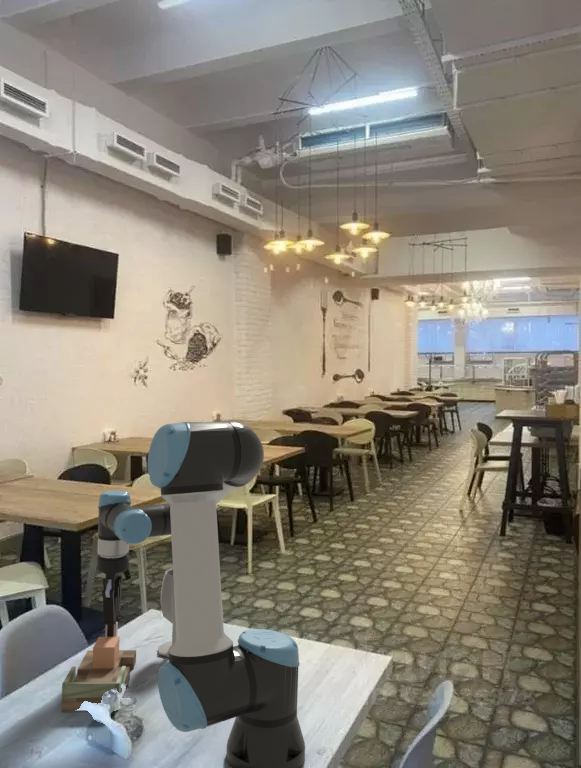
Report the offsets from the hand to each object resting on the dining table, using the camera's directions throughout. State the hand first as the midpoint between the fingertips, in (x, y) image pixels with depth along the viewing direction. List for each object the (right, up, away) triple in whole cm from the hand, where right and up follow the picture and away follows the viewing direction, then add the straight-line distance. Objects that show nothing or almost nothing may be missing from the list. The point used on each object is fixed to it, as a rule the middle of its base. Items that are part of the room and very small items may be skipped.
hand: (111, 648), depth 155 cm
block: (0, -1, -5) cm, 5 cm away
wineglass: (+14, -5, +9) cm, 17 cm away
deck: (+1, -4, -10) cm, 11 cm away
